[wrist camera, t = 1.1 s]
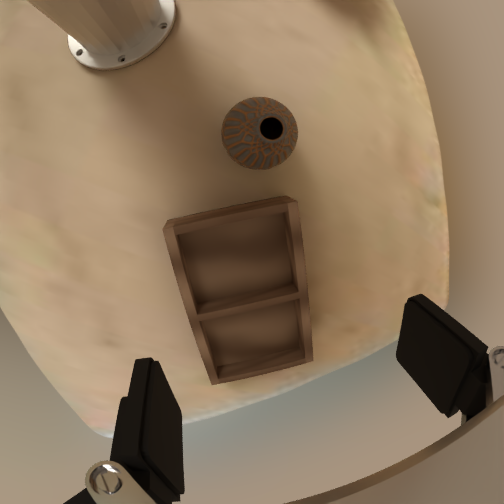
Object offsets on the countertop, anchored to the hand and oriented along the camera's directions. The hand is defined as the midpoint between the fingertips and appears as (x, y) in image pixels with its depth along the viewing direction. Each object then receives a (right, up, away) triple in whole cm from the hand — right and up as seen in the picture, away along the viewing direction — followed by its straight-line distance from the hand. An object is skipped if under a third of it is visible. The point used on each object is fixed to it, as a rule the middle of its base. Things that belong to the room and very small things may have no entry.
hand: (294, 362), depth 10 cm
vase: (-1, +16, +19) cm, 25 cm away
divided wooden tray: (-2, -1, +25) cm, 25 cm away
